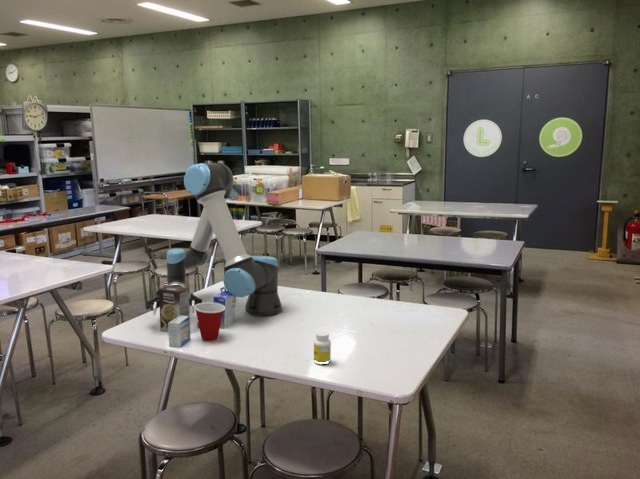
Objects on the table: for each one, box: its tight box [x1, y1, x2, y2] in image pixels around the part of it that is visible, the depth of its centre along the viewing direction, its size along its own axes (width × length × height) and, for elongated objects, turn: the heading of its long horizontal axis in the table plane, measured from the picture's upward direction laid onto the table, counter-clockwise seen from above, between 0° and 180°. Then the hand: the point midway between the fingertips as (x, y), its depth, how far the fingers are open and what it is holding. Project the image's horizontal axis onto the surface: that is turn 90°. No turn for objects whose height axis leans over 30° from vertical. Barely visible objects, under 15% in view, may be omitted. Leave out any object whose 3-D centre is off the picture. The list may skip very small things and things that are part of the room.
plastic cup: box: [194, 302, 225, 342], centre depth 187 cm, size 11×11×12 cm
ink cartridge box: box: [212, 286, 237, 330], centre depth 202 cm, size 10×6×14 cm, turn 164°
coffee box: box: [158, 285, 190, 333], centre depth 194 cm, size 9×6×16 cm
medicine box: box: [167, 315, 191, 348], centre depth 183 cm, size 8×4×9 cm, turn 168°
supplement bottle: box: [313, 330, 332, 362], centre depth 169 cm, size 5×5×10 cm
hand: (173, 310), depth 191 cm, fingers open, 13 cm apart
